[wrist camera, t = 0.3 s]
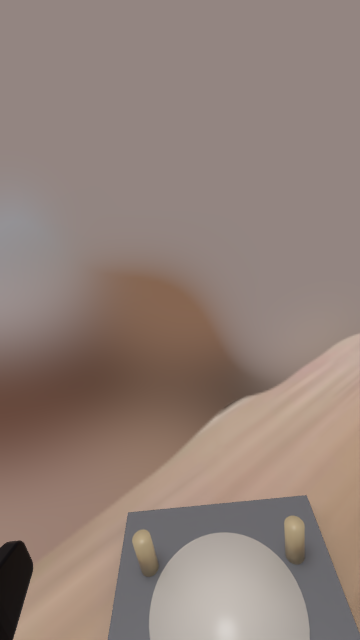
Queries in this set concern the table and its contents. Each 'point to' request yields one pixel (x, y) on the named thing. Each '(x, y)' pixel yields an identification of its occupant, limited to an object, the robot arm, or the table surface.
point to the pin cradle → (229, 575)
